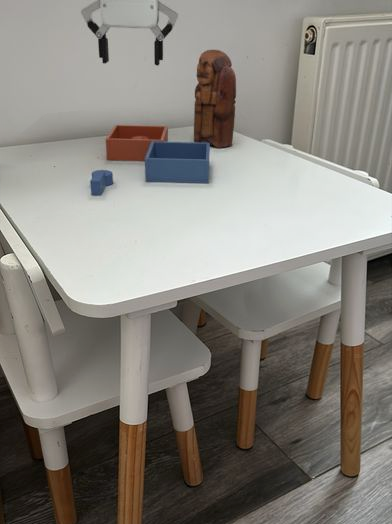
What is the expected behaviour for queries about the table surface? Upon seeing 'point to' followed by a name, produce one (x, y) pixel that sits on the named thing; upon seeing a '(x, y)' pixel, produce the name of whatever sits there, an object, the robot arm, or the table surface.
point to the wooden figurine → (214, 99)
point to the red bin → (133, 141)
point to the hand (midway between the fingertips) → (131, 63)
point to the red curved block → (139, 137)
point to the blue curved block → (100, 181)
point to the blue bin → (177, 162)
